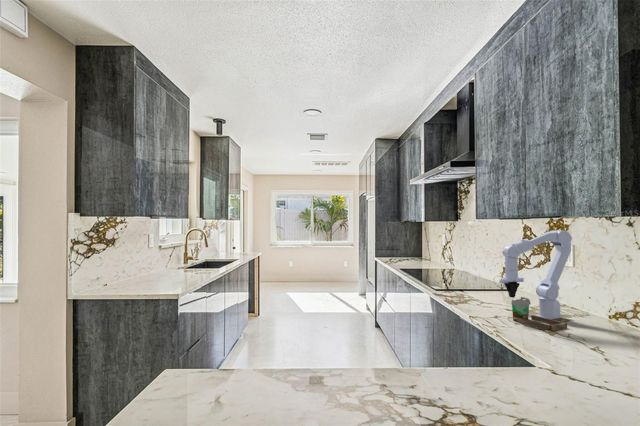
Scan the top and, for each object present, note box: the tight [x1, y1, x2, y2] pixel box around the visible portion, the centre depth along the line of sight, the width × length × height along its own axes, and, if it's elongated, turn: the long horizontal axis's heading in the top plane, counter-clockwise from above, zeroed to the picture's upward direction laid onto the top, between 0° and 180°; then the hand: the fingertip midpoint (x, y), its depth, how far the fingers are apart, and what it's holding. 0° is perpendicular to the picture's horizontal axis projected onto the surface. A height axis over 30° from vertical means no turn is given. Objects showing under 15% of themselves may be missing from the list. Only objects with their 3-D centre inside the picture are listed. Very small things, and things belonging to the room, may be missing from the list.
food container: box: [511, 296, 532, 322], centre depth 184 cm, size 12×6×10 cm, turn 132°
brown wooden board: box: [516, 314, 568, 331], centre depth 176 cm, size 11×17×2 cm, turn 23°
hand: (512, 297), depth 190 cm, fingers closed
